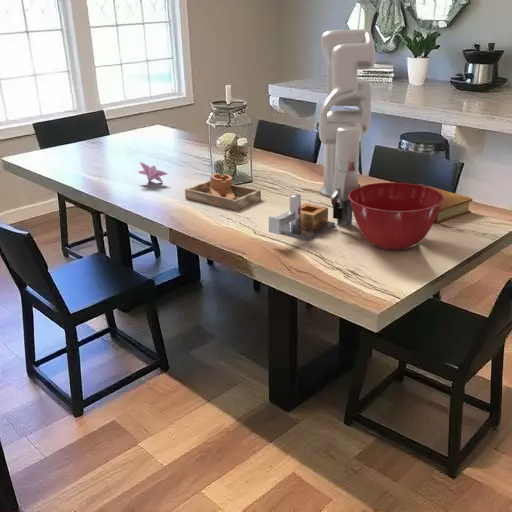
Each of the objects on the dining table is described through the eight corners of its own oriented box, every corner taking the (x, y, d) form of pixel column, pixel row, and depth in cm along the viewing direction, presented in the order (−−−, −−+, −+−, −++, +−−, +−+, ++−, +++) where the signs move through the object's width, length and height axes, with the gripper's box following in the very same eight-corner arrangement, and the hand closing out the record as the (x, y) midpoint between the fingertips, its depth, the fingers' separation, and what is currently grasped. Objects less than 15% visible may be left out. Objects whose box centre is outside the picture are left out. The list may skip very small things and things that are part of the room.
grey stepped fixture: (300, 217, 219) (300, 181, 214) (334, 225, 211) (336, 188, 206) (256, 240, 201) (255, 201, 195) (292, 250, 193) (292, 210, 187)
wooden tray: (211, 188, 252) (210, 179, 251) (260, 199, 238) (260, 190, 237) (185, 198, 241) (184, 189, 240) (236, 210, 227) (235, 201, 226)
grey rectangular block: (342, 221, 214) (343, 190, 210) (351, 223, 212) (353, 192, 208) (337, 224, 212) (338, 193, 207) (346, 226, 210) (347, 195, 205)
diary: (384, 208, 227) (385, 193, 225) (419, 198, 237) (420, 183, 235) (435, 225, 210) (437, 209, 208) (470, 213, 220) (472, 197, 218)
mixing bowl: (328, 242, 197) (329, 196, 191) (381, 219, 216) (384, 176, 209) (405, 268, 179) (409, 217, 173) (456, 240, 197) (461, 193, 191)
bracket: (208, 189, 247) (209, 172, 244) (229, 190, 249) (230, 174, 246) (213, 205, 231) (214, 188, 228) (235, 206, 233) (237, 189, 230)
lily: (170, 188, 256) (172, 165, 257) (147, 183, 248) (148, 159, 249) (153, 192, 265) (154, 169, 266) (129, 187, 256) (131, 164, 257)
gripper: (349, 157, 212) (348, 205, 219) (322, 169, 200) (321, 219, 206) (369, 160, 208) (367, 209, 215) (343, 173, 195) (341, 224, 202)
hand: (344, 214), depth 211 cm, fingers open, 9 cm apart
